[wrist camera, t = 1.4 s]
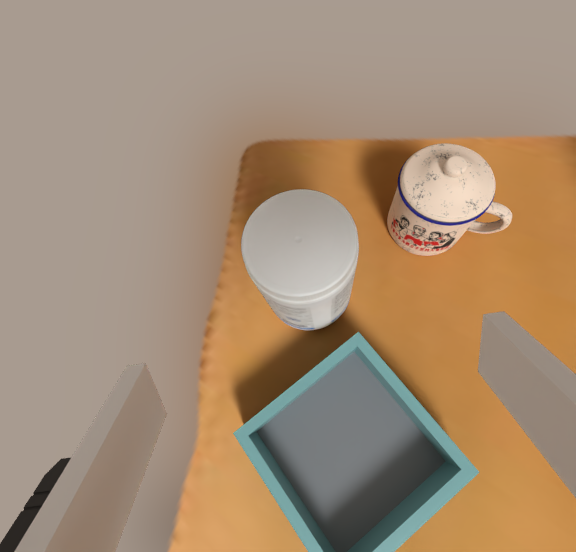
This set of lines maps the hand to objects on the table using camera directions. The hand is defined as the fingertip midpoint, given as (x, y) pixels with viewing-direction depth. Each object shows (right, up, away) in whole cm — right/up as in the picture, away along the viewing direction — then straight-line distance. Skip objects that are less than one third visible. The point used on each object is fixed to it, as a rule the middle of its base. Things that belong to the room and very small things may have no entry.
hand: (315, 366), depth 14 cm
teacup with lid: (+17, +9, +28) cm, 34 cm away
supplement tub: (+1, +2, +27) cm, 27 cm away
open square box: (+5, -13, +21) cm, 26 cm away
